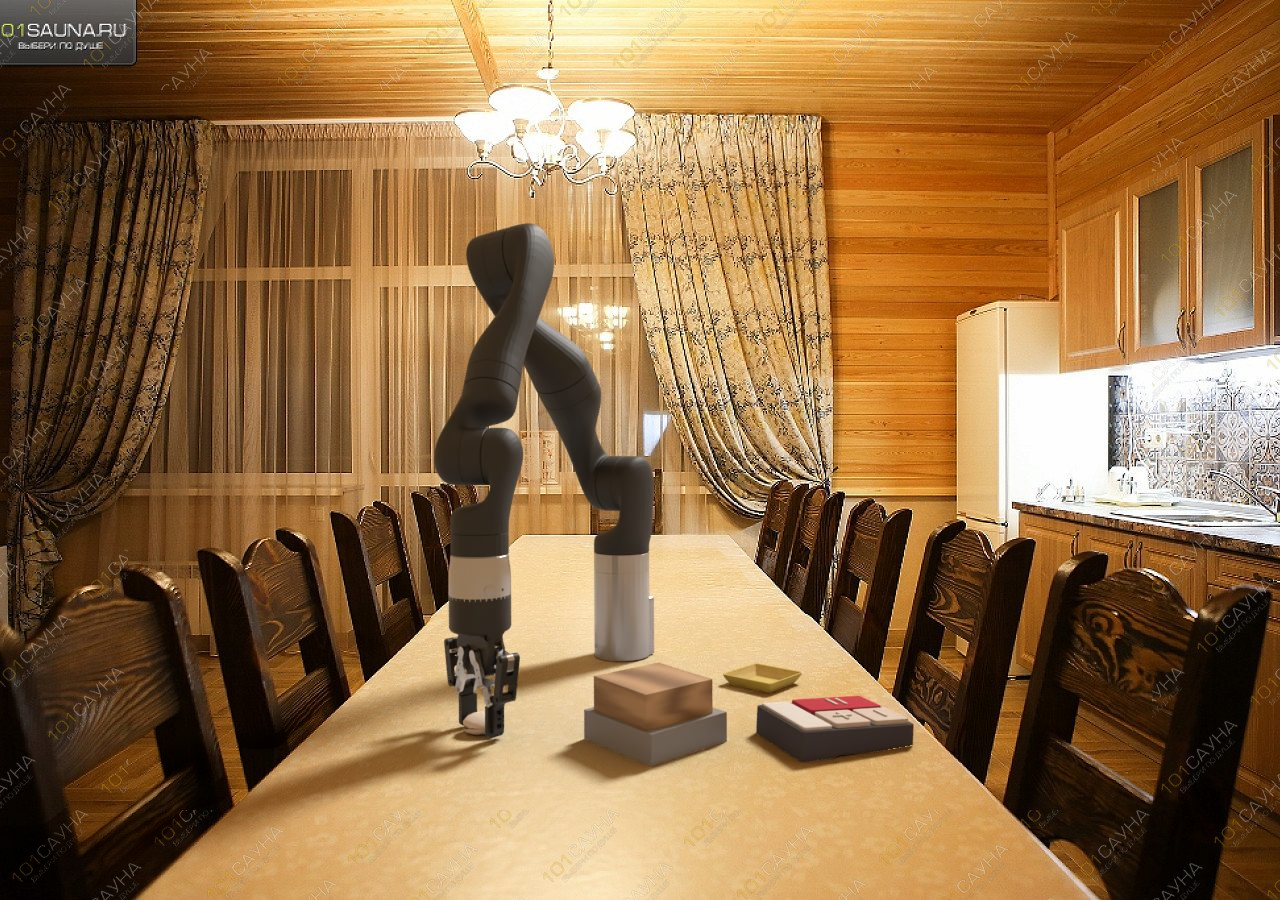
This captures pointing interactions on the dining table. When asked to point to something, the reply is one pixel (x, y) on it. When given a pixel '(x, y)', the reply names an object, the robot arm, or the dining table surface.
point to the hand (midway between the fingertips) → (480, 729)
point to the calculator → (832, 727)
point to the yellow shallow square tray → (762, 677)
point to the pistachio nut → (475, 723)
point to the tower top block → (653, 695)
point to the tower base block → (655, 736)
